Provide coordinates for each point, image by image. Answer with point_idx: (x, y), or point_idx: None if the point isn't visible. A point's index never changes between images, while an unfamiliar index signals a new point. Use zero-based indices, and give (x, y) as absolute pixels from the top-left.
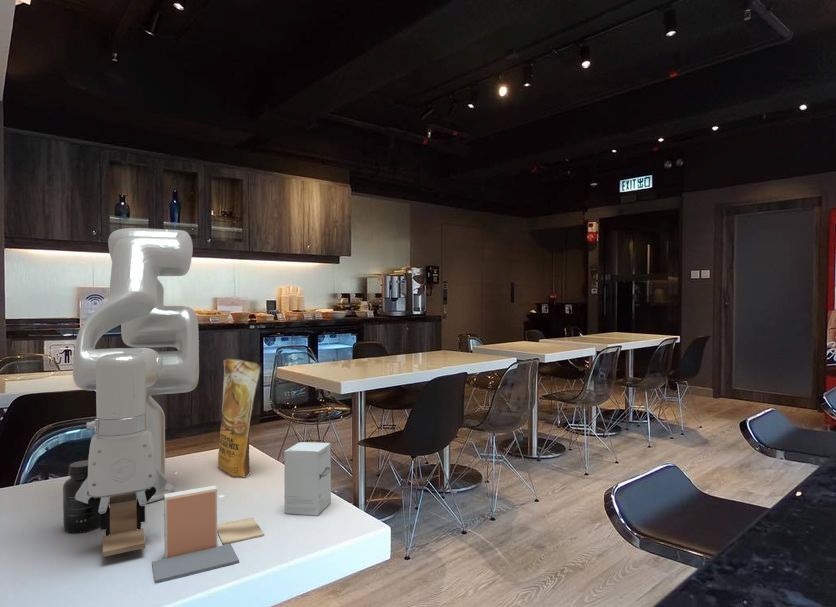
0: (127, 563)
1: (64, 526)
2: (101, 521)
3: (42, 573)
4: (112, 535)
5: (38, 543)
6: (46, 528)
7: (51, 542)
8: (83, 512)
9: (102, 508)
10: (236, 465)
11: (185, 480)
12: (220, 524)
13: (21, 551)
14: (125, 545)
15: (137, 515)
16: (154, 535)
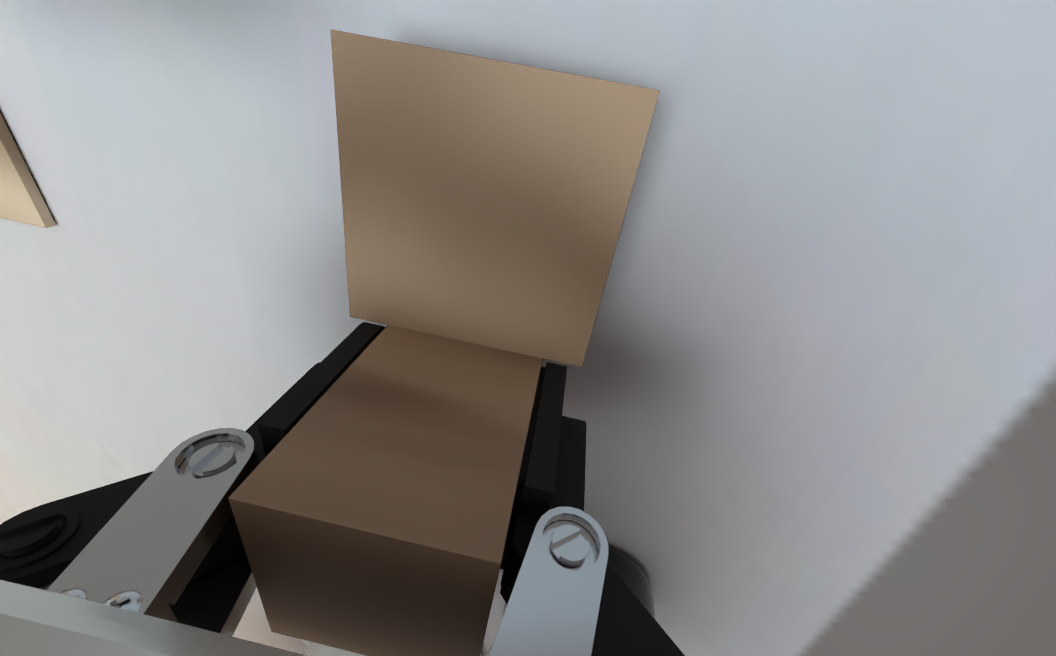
0: (502, 14)
1: (653, 604)
2: (580, 462)
3: (936, 266)
4: (530, 341)
5: (757, 563)
6: (684, 631)
7: (719, 543)
8: None
9: (571, 557)
10: None
11: (276, 637)
12: (12, 213)
13: (837, 547)
14: (478, 100)
15: (328, 381)
16: (345, 334)
